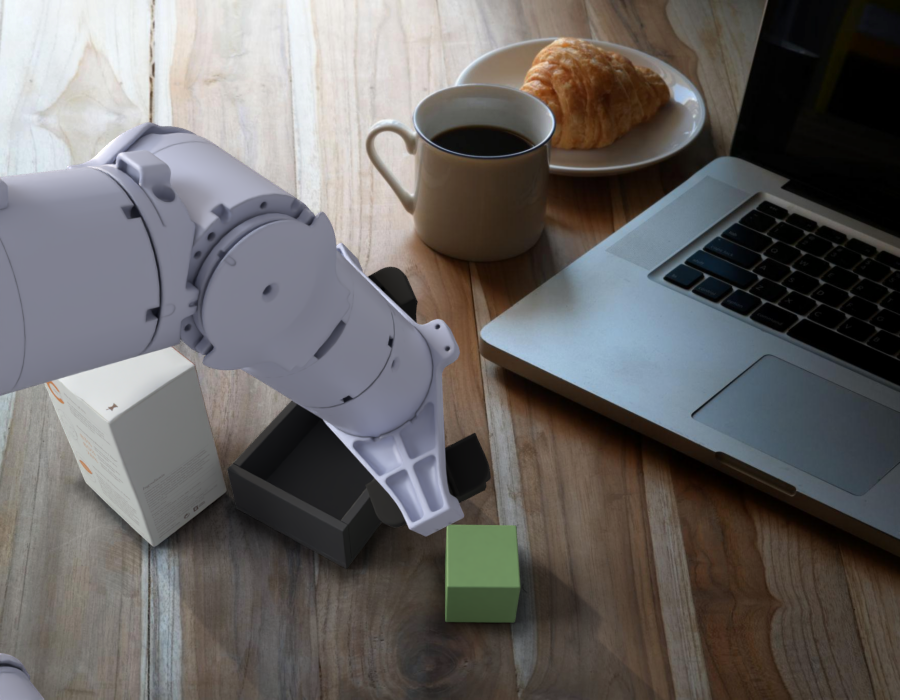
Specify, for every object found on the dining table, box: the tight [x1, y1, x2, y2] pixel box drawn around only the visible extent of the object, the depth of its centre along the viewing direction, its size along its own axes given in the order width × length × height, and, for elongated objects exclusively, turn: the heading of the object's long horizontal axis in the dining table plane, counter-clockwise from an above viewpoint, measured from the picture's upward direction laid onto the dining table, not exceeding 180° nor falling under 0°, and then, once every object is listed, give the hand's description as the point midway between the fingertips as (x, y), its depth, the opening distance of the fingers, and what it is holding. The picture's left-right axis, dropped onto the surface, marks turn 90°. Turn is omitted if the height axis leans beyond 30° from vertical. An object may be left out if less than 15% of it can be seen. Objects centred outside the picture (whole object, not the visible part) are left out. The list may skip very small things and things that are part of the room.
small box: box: [43, 346, 228, 548], centre depth 60 cm, size 8×6×13 cm
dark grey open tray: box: [226, 399, 383, 570], centre depth 64 cm, size 10×9×4 cm
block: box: [444, 524, 522, 624], centre depth 58 cm, size 4×4×4 cm
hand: (441, 428), depth 50 cm, fingers open, 7 cm apart
